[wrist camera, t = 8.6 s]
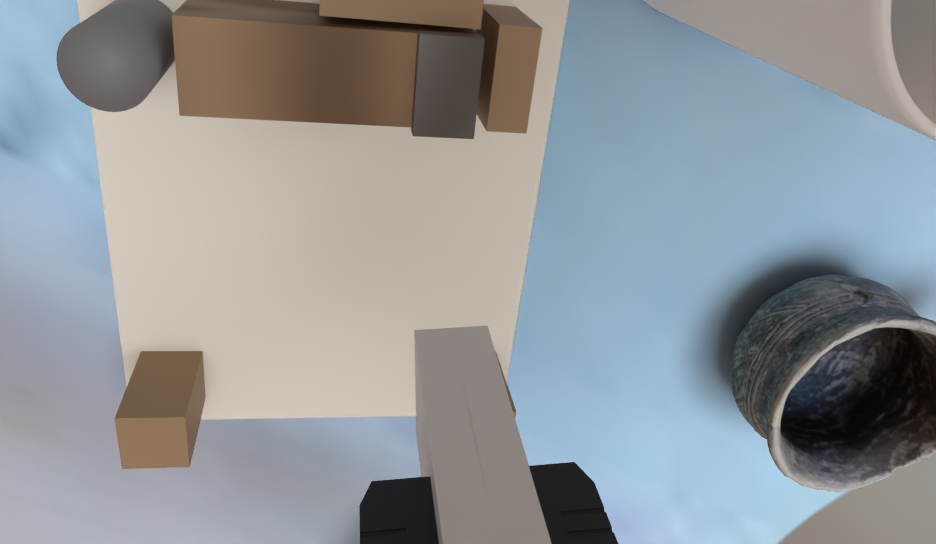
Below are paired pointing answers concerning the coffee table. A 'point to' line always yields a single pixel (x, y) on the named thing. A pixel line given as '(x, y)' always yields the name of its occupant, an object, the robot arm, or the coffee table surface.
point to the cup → (835, 46)
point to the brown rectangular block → (324, 67)
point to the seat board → (303, 226)
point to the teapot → (838, 381)
